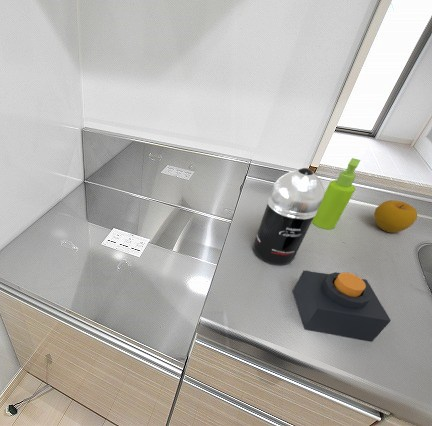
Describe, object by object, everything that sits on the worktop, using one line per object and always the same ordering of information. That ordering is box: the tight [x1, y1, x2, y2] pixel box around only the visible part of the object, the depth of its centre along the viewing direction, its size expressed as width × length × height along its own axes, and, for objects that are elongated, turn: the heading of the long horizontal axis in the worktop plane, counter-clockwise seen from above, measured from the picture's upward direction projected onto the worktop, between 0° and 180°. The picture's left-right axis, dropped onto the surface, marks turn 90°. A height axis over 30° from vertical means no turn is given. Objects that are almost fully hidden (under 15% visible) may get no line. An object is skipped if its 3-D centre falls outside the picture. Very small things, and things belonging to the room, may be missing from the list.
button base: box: [292, 270, 392, 343], centre depth 60 cm, size 12×10×9 cm
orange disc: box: [334, 272, 366, 297], centre depth 57 cm, size 4×4×2 cm
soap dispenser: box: [311, 157, 361, 230], centre depth 82 cm, size 6×7×20 cm
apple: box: [373, 199, 418, 234], centre depth 82 cm, size 8×8×9 cm
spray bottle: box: [252, 167, 325, 266], centre depth 70 cm, size 10×10×25 cm
